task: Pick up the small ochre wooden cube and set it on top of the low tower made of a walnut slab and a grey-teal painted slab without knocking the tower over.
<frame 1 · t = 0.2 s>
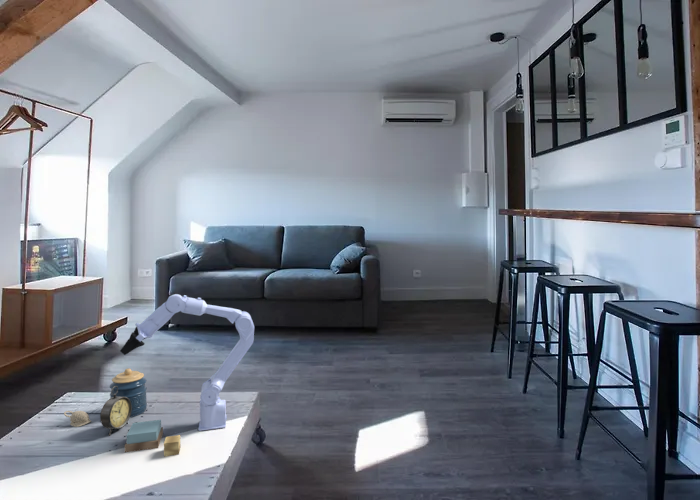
hand: (124, 349, 142), 31 cm above the table, tool tilted 45°, fingers open, 7 cm apart
ochre cube: (172, 452, 134), on the table
alarm clock: (116, 430, 149), on the table
tower base: (144, 444, 140), on the table
canister: (129, 412, 163), on the table
decorative ornament: (78, 424, 153), on the table
tower top: (144, 435, 140), point 2 cm above the table
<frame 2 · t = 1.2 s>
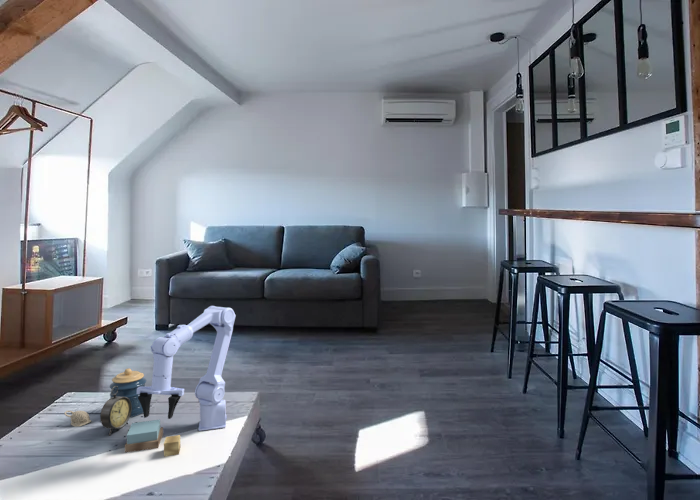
hand: (158, 417, 132), 12 cm above the table, tool pointing down, fingers open, 7 cm apart
tower base: (144, 444, 140), on the table, touching tower top
tower top: (144, 435, 140), point 2 cm above the table, touching tower base
everything else where it was.
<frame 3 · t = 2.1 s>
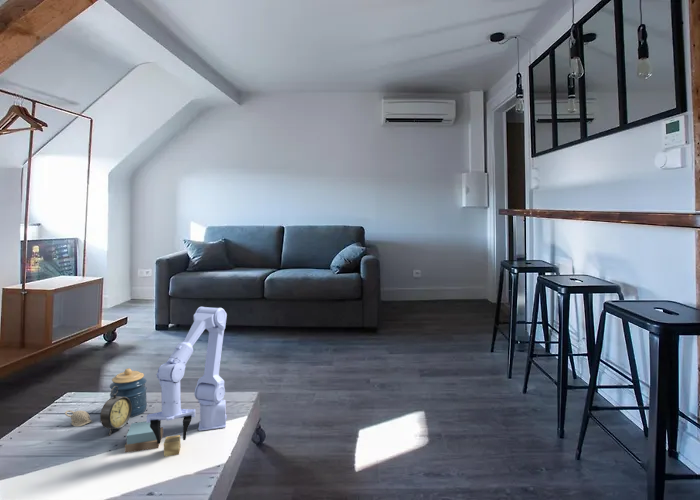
hand: (172, 440, 133), 4 cm above the table, tool pointing down, fingers open, 7 cm apart
tower base: (144, 444, 140), on the table
tower top: (144, 435, 139), point 2 cm above the table
everything else where it was.
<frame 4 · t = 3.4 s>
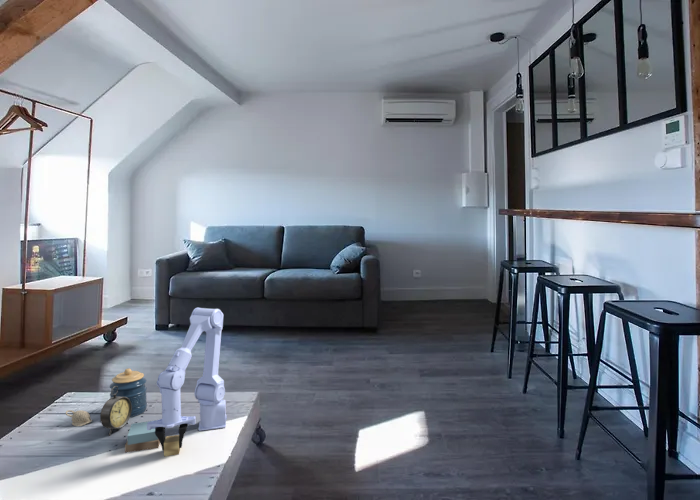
hand: (172, 447, 134), 1 cm above the table, tool pointing down, fingers closed on ochre cube, 4 cm apart
ochre cube: (172, 451, 134), on the table, touching gripper
tower base: (145, 444, 140), on the table, touching tower top
tower top: (144, 436, 139), point 2 cm above the table, touching tower base
everything else where it was.
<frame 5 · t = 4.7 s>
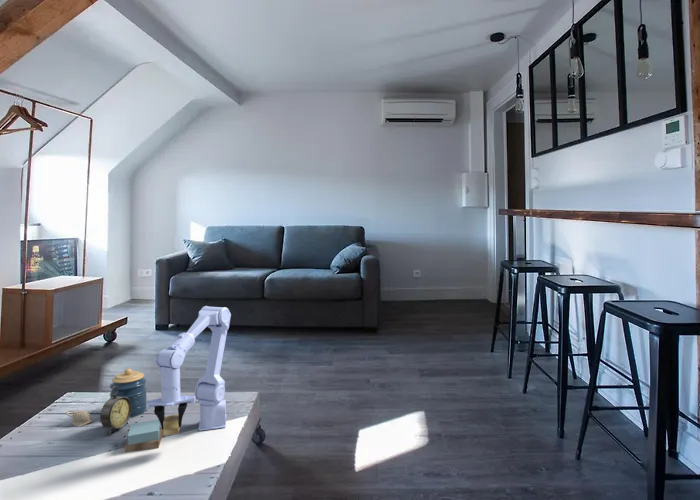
hand: (171, 426, 133), 8 cm above the table, tool pointing down, fingers closed on ochre cube, 4 cm apart
ochre cube: (171, 431, 133), point 7 cm above the table, touching gripper
everything else where it was.
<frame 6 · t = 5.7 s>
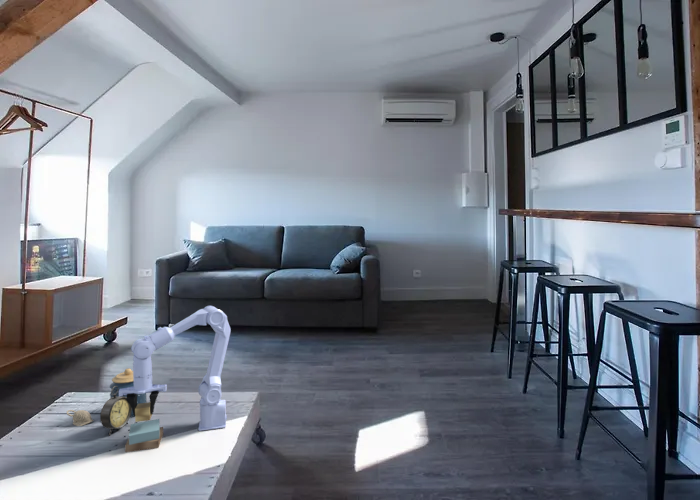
hand: (143, 413, 139), 10 cm above the table, tool pointing down, fingers closed on ochre cube, 4 cm apart
ochre cube: (143, 418, 139), point 9 cm above the table, touching gripper
everything else where it was.
when the fingers open (8 cm above the table, at t = 6.4 s): ochre cube drops 1 cm, point 5 cm above the table.
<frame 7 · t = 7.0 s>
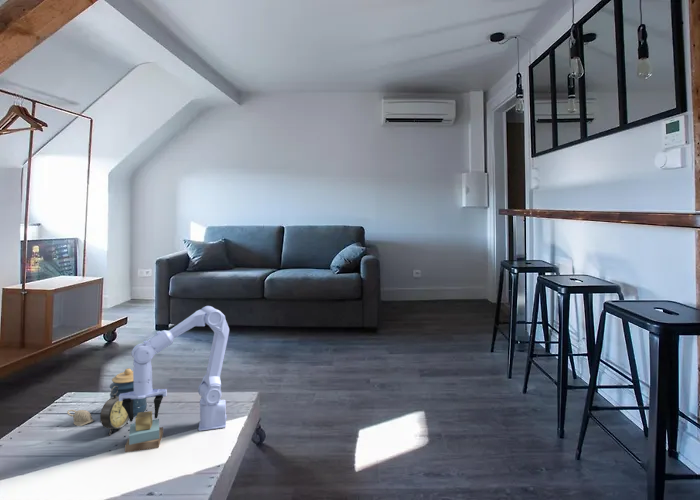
hand: (144, 418, 139), 8 cm above the table, tool pointing down, fingers open, 7 cm apart
ochre cube: (144, 427, 139), point 5 cm above the table
everything else where it was.
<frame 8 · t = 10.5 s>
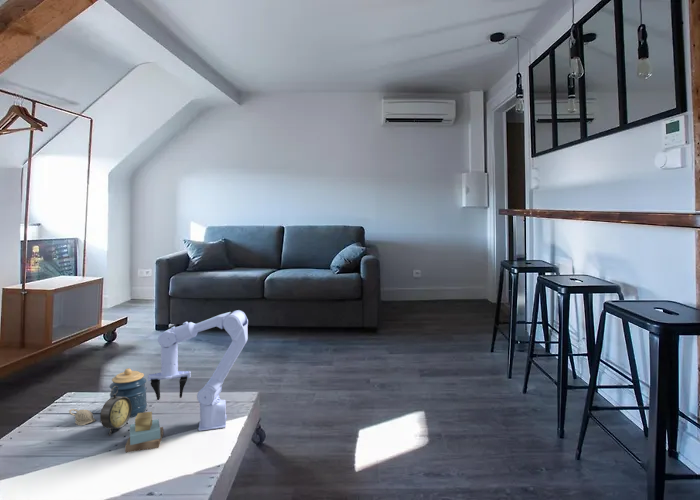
hand: (169, 397, 152), 10 cm above the table, tool pointing down, fingers open, 7 cm apart
ochre cube: (143, 427, 139), point 5 cm above the table, touching tower top
tower top: (145, 435, 139), point 2 cm above the table, touching ochre cube, tower base
at the end: ochre cube 0.4 cm off-centre on the tower top, point 3.0 cm above the tower top's base; tower top 0.0 cm off-centre on the tower base, point 3.0 cm above the tower base's base; ochre cube tilted 0° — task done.
